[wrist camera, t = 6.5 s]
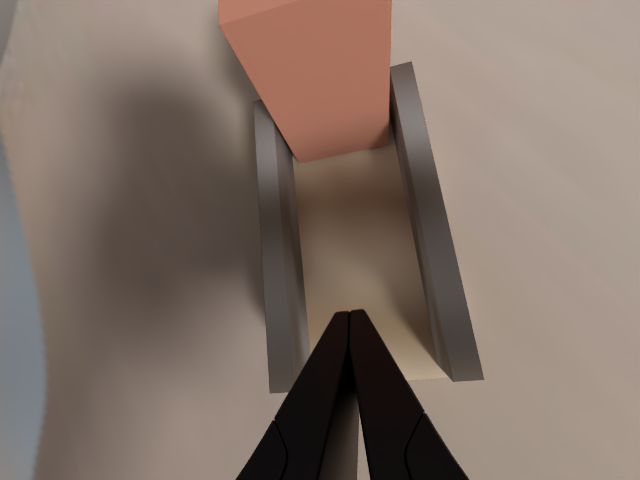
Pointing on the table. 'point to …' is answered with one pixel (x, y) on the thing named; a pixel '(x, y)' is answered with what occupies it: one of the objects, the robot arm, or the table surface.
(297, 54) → the brick-red block
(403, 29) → the table surface
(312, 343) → the chute
